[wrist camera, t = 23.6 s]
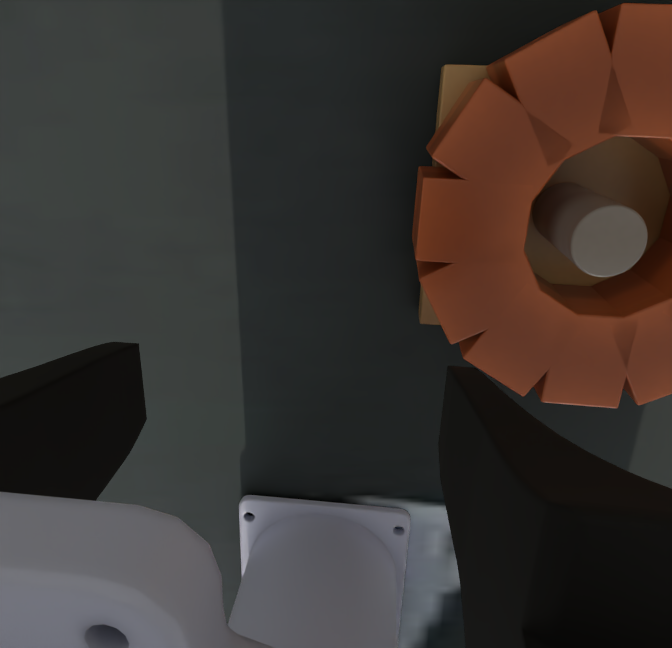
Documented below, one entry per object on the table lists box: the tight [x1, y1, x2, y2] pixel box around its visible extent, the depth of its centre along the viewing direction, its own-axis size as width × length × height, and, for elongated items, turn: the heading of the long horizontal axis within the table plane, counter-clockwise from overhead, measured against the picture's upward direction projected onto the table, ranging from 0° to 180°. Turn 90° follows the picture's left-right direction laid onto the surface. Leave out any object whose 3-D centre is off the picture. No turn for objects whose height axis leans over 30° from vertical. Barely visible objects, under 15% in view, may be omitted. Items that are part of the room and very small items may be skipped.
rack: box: [418, 64, 670, 325], centre depth 18 cm, size 9×9×6 cm
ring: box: [412, 3, 672, 408], centre depth 18 cm, size 12×12×3 cm
